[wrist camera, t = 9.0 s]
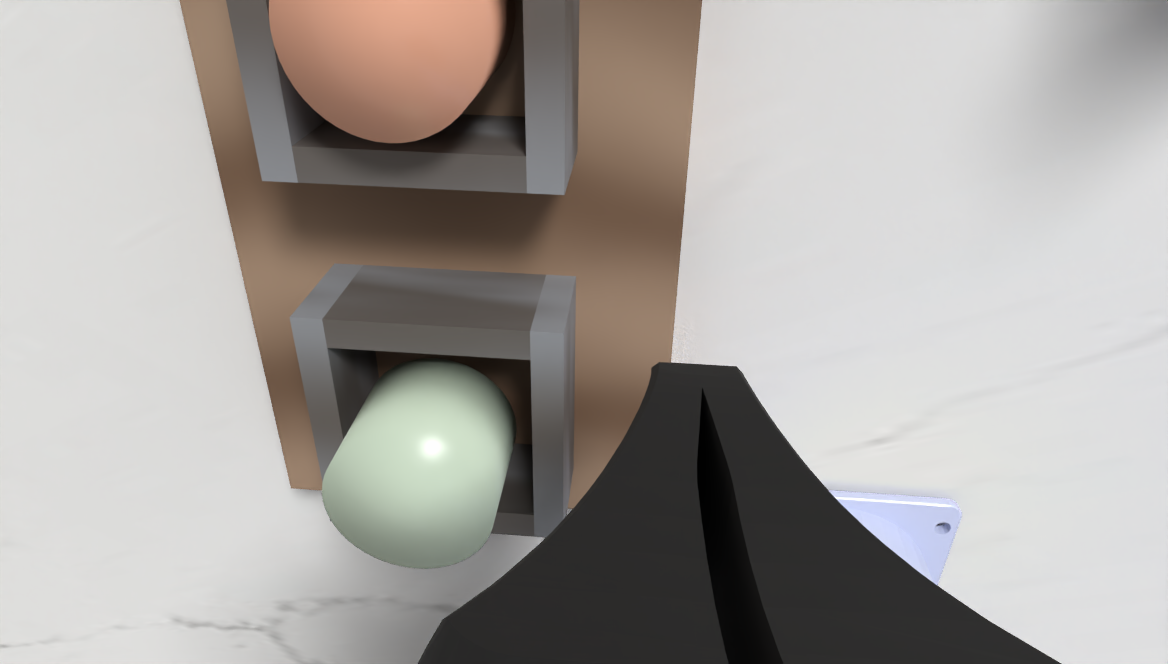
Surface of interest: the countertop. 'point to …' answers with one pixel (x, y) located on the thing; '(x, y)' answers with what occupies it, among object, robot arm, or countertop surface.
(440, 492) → the sage spring button
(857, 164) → the countertop surface
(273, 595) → the countertop surface
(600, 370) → the button panel
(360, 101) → the terracotta plunger
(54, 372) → the countertop surface
